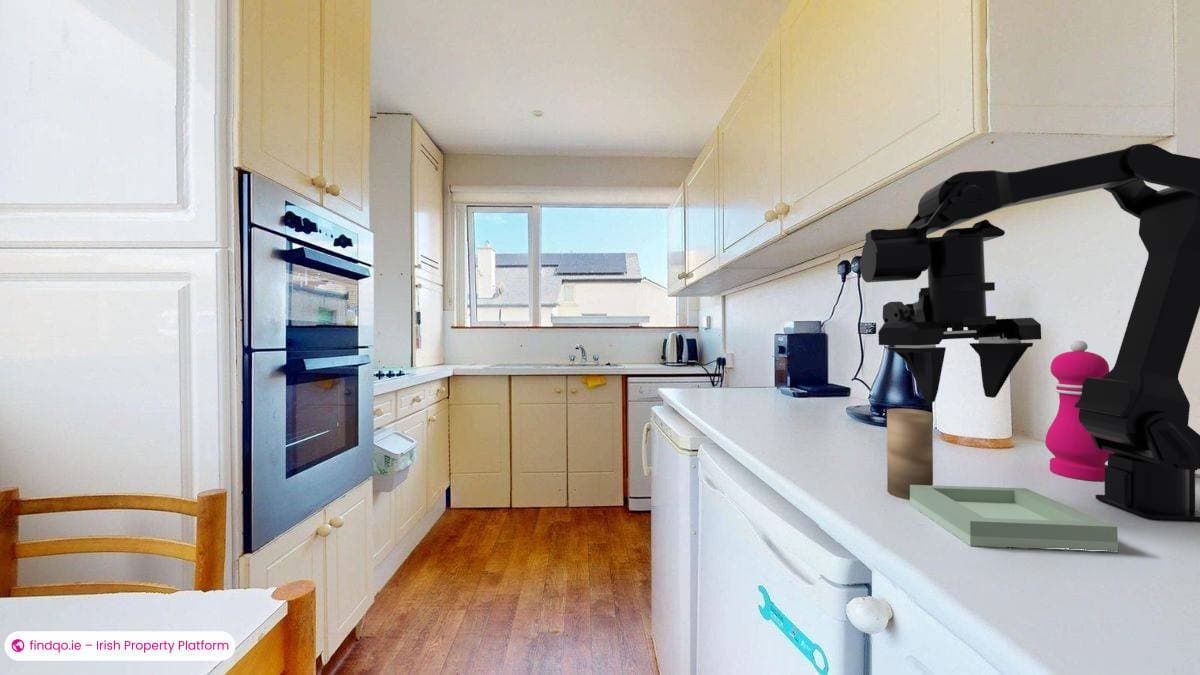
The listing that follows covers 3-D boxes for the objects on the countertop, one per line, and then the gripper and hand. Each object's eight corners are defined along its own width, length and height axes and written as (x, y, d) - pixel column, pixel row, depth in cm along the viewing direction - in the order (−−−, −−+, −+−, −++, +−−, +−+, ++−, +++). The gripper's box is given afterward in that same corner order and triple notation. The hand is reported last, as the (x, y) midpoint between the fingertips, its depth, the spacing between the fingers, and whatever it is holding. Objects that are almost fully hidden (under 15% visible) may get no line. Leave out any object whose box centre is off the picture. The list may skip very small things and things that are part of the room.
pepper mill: (1082, 468, 70) (1082, 340, 70) (1132, 483, 63) (1132, 340, 63) (1032, 467, 71) (1031, 340, 71) (1075, 482, 64) (1075, 341, 64)
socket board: (1026, 508, 55) (1025, 488, 55) (1117, 552, 44) (1117, 526, 44) (910, 504, 56) (909, 484, 56) (970, 545, 45) (970, 521, 45)
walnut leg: (919, 488, 62) (918, 408, 62) (941, 501, 57) (941, 415, 57) (880, 487, 63) (879, 408, 63) (899, 500, 58) (898, 414, 58)
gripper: (957, 283, 67) (961, 388, 67) (845, 286, 64) (850, 396, 64) (1042, 272, 56) (1047, 397, 56) (913, 275, 53) (918, 408, 53)
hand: (960, 399), depth 58 cm, fingers open, 9 cm apart
